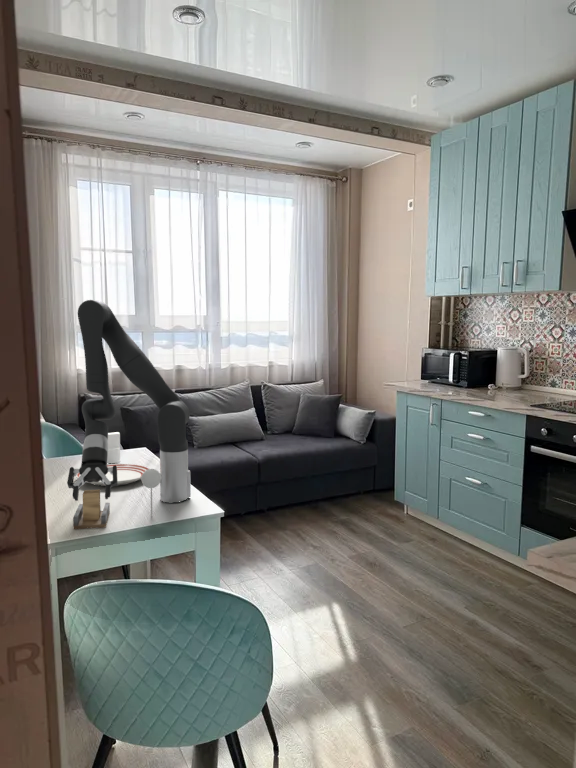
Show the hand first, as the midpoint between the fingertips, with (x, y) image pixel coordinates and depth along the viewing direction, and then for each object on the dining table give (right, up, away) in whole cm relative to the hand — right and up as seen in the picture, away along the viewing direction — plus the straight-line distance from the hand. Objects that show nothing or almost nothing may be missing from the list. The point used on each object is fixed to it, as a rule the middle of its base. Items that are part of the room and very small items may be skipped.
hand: (91, 498), depth 165 cm
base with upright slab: (-18, +1, +71) cm, 74 cm away
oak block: (0, -6, +2) cm, 6 cm away
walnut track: (0, -7, +2) cm, 7 cm away
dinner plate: (-8, -2, +46) cm, 46 cm away
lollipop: (+16, -7, +7) cm, 19 cm away
